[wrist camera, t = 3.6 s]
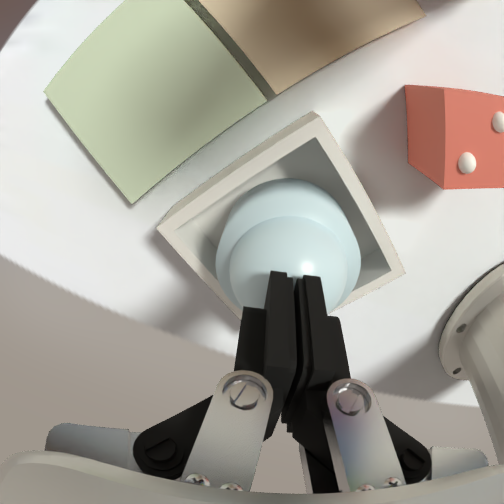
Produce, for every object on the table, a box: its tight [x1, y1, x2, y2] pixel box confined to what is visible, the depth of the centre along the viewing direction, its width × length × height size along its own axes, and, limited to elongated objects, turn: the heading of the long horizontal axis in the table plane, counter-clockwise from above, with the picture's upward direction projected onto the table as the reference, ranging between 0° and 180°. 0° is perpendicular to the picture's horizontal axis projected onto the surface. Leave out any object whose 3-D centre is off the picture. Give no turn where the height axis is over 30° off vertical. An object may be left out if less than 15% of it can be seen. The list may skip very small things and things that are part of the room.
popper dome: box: [215, 178, 361, 315], centre depth 13 cm, size 6×6×5 cm
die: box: [405, 85, 504, 189], centre depth 11 cm, size 4×4×4 cm
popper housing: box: [156, 111, 406, 320], centre depth 15 cm, size 9×9×3 cm
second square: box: [43, 0, 268, 204], centre depth 13 cm, size 8×8×1 cm
